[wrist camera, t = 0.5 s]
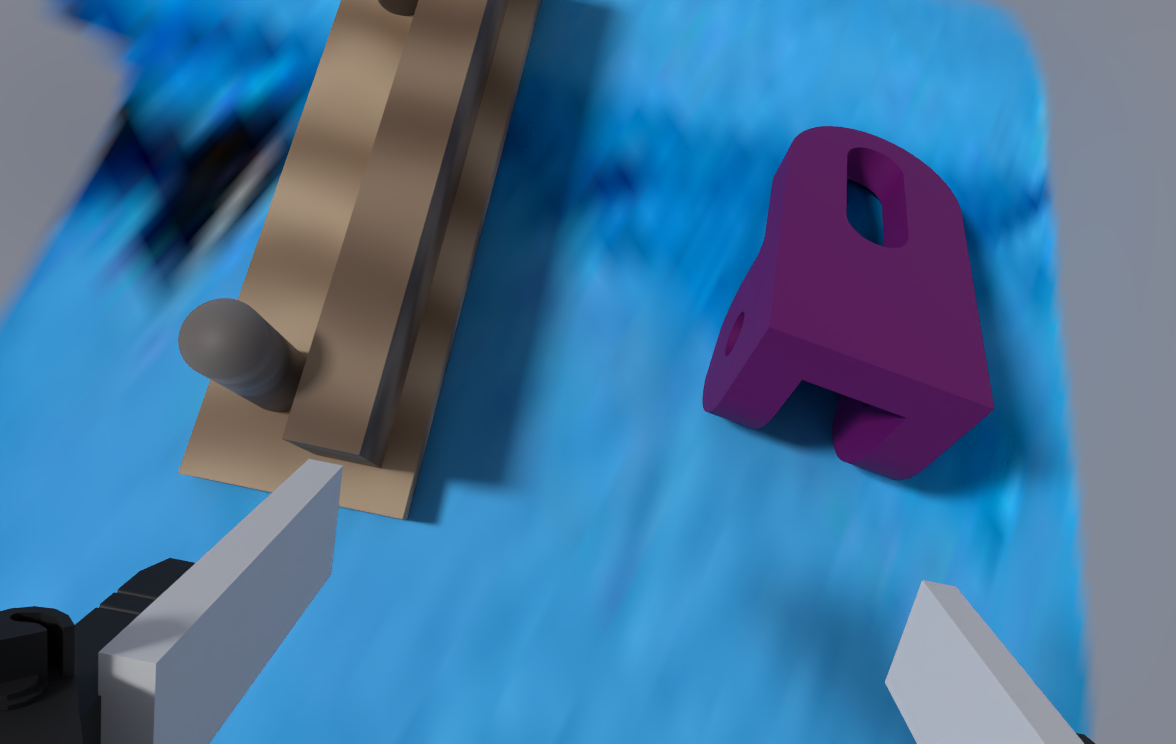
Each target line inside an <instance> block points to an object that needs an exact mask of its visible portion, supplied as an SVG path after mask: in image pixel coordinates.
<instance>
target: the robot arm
mask: <svg viewBox="0 0 1176 744" xmlns="http://www.w3.org/2000/svg"><path fill="white" fill-rule="evenodd" d="M342 471H343V465H338V464H333V463H328V462H323V461H317V460H312V459H308V460H307V461H306V462H305V463H304V464H303V465H302V466H301V467H299V468H298V469H297V470H296V471H295V472H294V473H293V474H292V475H291V476H290V477H289V478H288V479H286V480H285V481H284V482H283V483H282V484H281V485H280V486H279V487H278V488H277V489H276V490H274V491H273V492H272V493H271V494H270V495H269V496H268V497H267V498H266V499H265V500H264V501H263V502H261V503H260V504H259V505H258V506H257V507H256V508H255V509H254V510H253V511H252V512H251V513H249V514H248V515H247V516H246V517H245V518H244V519H243V520H242V521H241V522H240V523H239V524H238V525H236V526H235V527H234V528H233V529H232V530H231V531H230V532H229V533H228V534H227V535H226V536H224V537H223V538H222V539H221V540H220V541H219V542H218V543H217V544H216V545H215V546H214V547H213V548H211V549H210V550H209V551H208V552H207V553H206V554H205V555H204V556H203V557H202V558H201V559H199V560H198V561H197V562H196V563H193V562H188V561H183V560H178V559H172V558H169V559H166V560H164V561H162V562H160V563H157V564H155V565H153V566H151V567H148V568H146V569H144V570H141V571H139V572H138V573H137V574H136V575H135V576H133V577H132V578H131V579H130V580H129V581H127V582H126V583H125V584H124V585H123V586H121V587H120V588H119V589H118V592H117V593H113V594H112V595H111V596H109V597H108V598H107V599H106V600H105V601H103V602H102V603H101V604H100V607H99V608H95V609H94V610H92V611H91V612H90V613H89V614H88V615H86V616H85V617H84V618H83V619H82V620H80V621H79V622H78V623H77V624H76V625H74V623H73V622H72V620H71V618H70V617H69V615H67V614H65V613H63V612H61V611H58V610H56V609H53V608H44V607H36V606H33V607H22V608H11V609H7V610H4V611H0V744H209V743H210V742H211V740H212V739H213V738H214V736H215V735H216V733H217V732H218V731H219V729H220V728H221V727H222V725H223V724H224V722H225V721H226V720H227V718H228V717H229V715H230V714H231V713H232V711H233V710H234V708H235V707H236V706H237V704H238V703H239V701H240V700H241V699H242V697H243V696H244V695H245V693H246V692H247V690H248V689H249V688H250V686H251V685H252V683H253V682H254V681H255V679H256V678H257V676H258V675H259V674H260V672H261V671H262V669H263V668H264V667H265V665H266V664H267V662H268V661H269V660H270V658H271V657H272V656H273V654H274V653H275V651H276V650H277V649H278V647H279V646H280V644H281V643H282V642H283V640H284V639H285V637H286V636H287V635H288V633H289V632H290V630H291V629H292V628H293V626H294V625H295V624H296V622H297V621H298V619H299V618H300V617H301V615H302V614H303V612H304V611H305V610H306V608H307V607H308V605H309V604H310V603H311V601H312V600H313V598H314V597H315V596H316V594H317V593H318V592H319V590H320V589H321V587H322V586H323V585H324V583H325V582H326V580H327V579H328V578H329V576H330V575H331V571H332V562H333V553H334V543H335V534H336V525H337V516H338V507H339V498H340V489H341V480H342ZM885 684H886V685H887V687H888V689H889V691H890V693H891V695H892V697H893V699H894V701H895V703H896V705H897V706H898V708H899V710H900V712H901V714H902V716H903V718H904V720H905V722H906V724H907V725H908V727H909V729H910V731H911V733H912V735H913V737H914V739H915V741H916V743H917V744H1095V743H1094V742H1093V741H1091V740H1090V739H1089V738H1088V737H1086V736H1085V735H1083V734H1078V733H1075V732H1074V730H1073V729H1072V728H1071V727H1070V726H1069V724H1068V723H1067V722H1066V721H1065V719H1064V718H1063V717H1062V716H1061V715H1060V713H1059V712H1058V711H1057V710H1056V708H1055V707H1054V706H1053V705H1052V704H1051V702H1050V701H1049V700H1048V699H1047V697H1046V696H1045V695H1044V694H1043V693H1042V691H1041V690H1040V689H1039V688H1038V686H1037V685H1036V684H1035V683H1034V682H1033V680H1032V679H1031V678H1030V677H1029V675H1028V674H1027V673H1026V672H1025V671H1024V669H1023V668H1022V667H1021V666H1020V664H1019V663H1018V662H1017V661H1016V660H1015V658H1014V657H1013V656H1012V655H1011V653H1010V652H1009V651H1008V650H1007V649H1006V647H1005V646H1004V645H1003V644H1002V642H1001V641H1000V640H999V639H998V638H997V636H996V635H995V634H994V633H993V631H992V630H991V629H990V628H989V627H988V625H987V624H986V623H985V622H984V620H983V619H982V618H981V617H980V616H979V614H978V613H977V612H976V611H975V609H974V608H973V607H972V606H971V605H970V603H969V602H968V601H967V600H966V598H965V597H964V596H963V595H962V594H961V592H960V591H959V590H958V589H957V588H956V587H955V586H950V585H945V584H940V583H935V582H929V581H924V580H922V583H921V585H920V588H919V591H918V593H917V596H916V599H915V602H914V604H913V607H912V610H911V613H910V615H909V618H908V621H907V623H906V626H905V629H904V632H903V634H902V637H901V640H900V642H899V645H898V648H897V651H896V653H895V656H894V659H893V661H892V664H891V667H890V670H889V672H888V675H887V678H886V681H885Z"/></svg>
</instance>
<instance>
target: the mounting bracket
mask: <svg viewBox="0 0 1176 744" xmlns="http://www.w3.org/2000/svg"><path fill="white" fill-rule="evenodd" d="M847 179H848V180H852V181H855V182H857V183H860V184H862V185H863V186H865V187H867V188H868V189H870V190H871V191H872V192H873V193H874V194H875V195H876V196H877V197H878V198H879V200H880V202H881V204H882V215H883V239H884V247H883V246H880V245H877V244H875V243H873V242H871V241H869V240H867V239H865V238H864V237H863V236H861V235H860V234H859V233H858V232H856V231H855V230H854V228H853V227H852V226H851V225H850V223H849V221H848V219H847V216H846V201H847ZM802 380H804V381H807V382H809V383H812V384H815V385H818V386H820V387H823V388H826V389H829V390H831V391H834V392H837V393H840V396H839V400H838V404H837V408H836V412H835V416H834V420H833V425H832V439H833V445H834V449H835V452H836V454H837V456H838V457H839V458H840V459H841V460H842V461H844V462H847V463H849V464H852V465H855V466H858V467H860V468H863V469H866V470H869V471H871V472H874V473H877V474H880V475H883V476H885V477H888V478H891V479H894V480H904V479H907V478H910V477H912V476H914V475H916V474H918V473H919V472H921V471H922V470H923V469H924V468H926V467H927V466H928V465H929V464H930V463H932V462H933V461H934V460H935V459H936V458H937V457H939V456H940V455H941V454H942V453H943V452H944V451H946V450H947V449H948V448H949V447H950V446H951V445H953V444H954V443H955V442H956V441H957V440H959V439H960V438H961V437H962V436H963V435H964V434H966V433H967V432H968V431H969V430H970V429H971V428H973V427H974V426H975V425H976V424H977V423H978V422H980V421H981V420H982V419H983V418H984V417H986V416H987V415H988V414H989V413H990V412H991V411H993V410H994V404H993V398H992V392H991V386H990V380H989V374H988V368H987V362H986V356H985V350H984V344H983V338H982V332H981V326H980V320H979V314H978V308H977V302H976V297H975V291H974V285H973V279H972V273H971V267H970V261H969V255H968V249H967V243H966V237H965V231H964V225H963V219H962V213H961V209H960V206H959V203H958V201H957V199H956V197H955V196H954V194H953V193H952V191H951V189H950V188H949V187H948V186H947V184H946V183H945V182H944V181H943V180H942V179H941V178H940V177H939V176H938V175H937V174H936V173H935V172H934V171H933V170H932V169H931V168H930V167H928V166H927V165H926V164H925V163H923V162H922V161H921V160H919V159H918V158H916V157H915V156H914V155H912V154H910V153H909V152H907V151H906V150H904V149H902V148H900V147H898V146H897V145H895V144H893V143H891V142H889V141H886V140H884V139H882V138H879V137H877V136H874V135H871V134H868V133H865V132H862V131H858V130H854V129H849V128H844V127H834V126H822V127H815V128H811V129H808V130H805V131H803V132H802V133H800V134H799V135H798V136H797V137H796V138H795V139H794V140H793V142H792V144H791V146H790V148H789V149H788V151H787V153H786V155H785V157H784V159H783V161H782V163H781V164H780V166H779V168H778V170H777V172H776V174H775V176H774V178H773V183H772V190H771V197H770V204H769V211H768V218H767V225H766V232H765V238H764V242H763V245H762V247H761V250H760V252H759V254H758V256H757V258H756V260H755V261H754V263H753V265H752V267H751V268H750V270H749V272H748V274H747V275H746V277H745V279H744V281H743V282H742V284H741V286H740V288H739V290H738V292H737V294H736V296H735V298H734V300H733V302H732V304H731V306H730V308H729V311H728V313H727V315H726V318H725V320H724V323H723V325H722V328H721V330H720V333H719V336H718V340H717V343H716V346H715V349H714V353H713V356H712V359H711V362H710V366H709V369H708V372H707V375H706V379H705V384H704V390H703V408H704V410H705V411H706V412H708V413H711V414H714V415H717V416H719V417H722V418H725V419H728V420H730V421H733V422H736V423H739V424H742V425H744V426H747V427H750V428H753V429H759V428H762V427H763V426H765V425H766V424H767V423H768V422H769V421H770V420H771V419H772V418H773V417H774V415H775V414H776V413H777V412H778V410H779V409H780V408H781V406H782V405H783V404H784V403H785V401H786V400H787V399H788V397H789V396H790V395H791V393H792V392H793V391H794V390H795V388H796V387H797V386H798V384H799V383H800V382H801V381H802Z"/></svg>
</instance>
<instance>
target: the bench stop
mask: <svg viewBox="0 0 1176 744" xmlns="http://www.w3.org/2000/svg"><path fill="white" fill-rule="evenodd" d="M540 4H541V0H341V2H340V5H339V8H338V11H337V14H336V17H335V20H334V23H333V26H332V28H331V31H330V34H329V37H328V40H327V43H326V46H325V49H324V52H323V55H322V57H321V60H320V63H319V66H318V69H317V72H316V75H315V78H314V81H313V84H312V86H311V89H310V92H309V95H308V98H307V101H306V104H305V107H304V110H303V113H302V115H301V118H300V121H299V124H298V127H297V130H296V133H295V136H294V139H293V142H292V144H291V147H290V150H289V153H288V156H287V159H286V162H285V165H284V168H283V171H282V173H281V176H280V179H279V182H278V185H277V188H276V191H275V194H274V197H273V199H272V202H271V205H270V208H269V211H268V214H267V217H266V220H265V223H264V226H263V228H262V231H261V234H260V237H259V240H258V243H257V246H256V249H255V252H254V255H253V257H252V260H251V263H250V266H249V269H248V272H247V275H246V278H245V281H244V284H243V286H242V289H241V292H240V295H239V298H238V300H235V299H227V298H223V299H215V300H211V301H208V302H206V303H204V304H202V305H200V306H198V307H197V308H195V309H194V310H193V311H192V312H191V313H190V314H189V315H188V316H187V318H186V319H185V321H184V322H183V324H182V326H181V329H180V332H179V338H178V344H179V349H180V353H181V355H182V357H183V359H184V360H185V362H186V363H187V364H188V365H189V366H190V367H191V368H192V369H193V370H195V371H197V372H198V373H200V374H202V375H204V376H206V377H207V378H209V379H210V382H209V385H208V388H207V391H206V394H205V397H204V399H203V402H202V405H201V408H200V411H199V414H198V417H197V420H196V423H195V426H194V428H193V431H192V434H191V437H190V440H189V443H188V446H187V449H186V452H185V455H184V457H183V460H182V463H181V466H180V469H179V472H178V473H180V474H185V475H189V476H194V477H199V478H204V479H208V480H213V481H218V482H223V483H228V484H233V485H238V486H242V487H247V488H252V489H257V490H262V491H267V492H273V491H274V490H276V489H277V488H278V487H279V486H280V485H281V484H282V483H283V482H284V481H285V480H286V479H288V478H289V477H290V476H291V475H292V474H293V473H294V472H295V471H296V470H297V469H298V468H299V467H301V466H302V465H303V464H304V463H305V462H306V461H307V460H308V459H312V460H317V461H323V462H328V463H333V464H338V465H343V471H342V480H341V489H340V498H339V506H340V507H344V508H349V509H354V510H359V511H364V512H369V513H374V514H378V515H383V516H388V517H393V518H398V519H403V520H407V518H408V514H409V510H410V506H411V503H412V499H413V495H414V491H415V487H416V483H417V479H418V476H419V472H420V468H421V464H422V460H423V456H424V452H425V448H426V445H427V441H428V437H429V433H430V429H431V425H432V421H433V418H434V414H435V410H436V406H437V402H438V398H439V394H440V390H441V387H442V383H443V379H444V375H445V371H446V367H447V363H448V360H449V356H450V352H451V348H452V344H453V340H454V336H455V332H456V329H457V325H458V321H459V317H460V313H461V309H462V305H463V302H464V298H465V294H466V290H467V286H468V282H469V278H470V274H471V271H472V267H473V263H474V259H475V255H476V251H477V247H478V244H479V240H480V236H481V232H482V228H483V224H484V220H485V216H486V213H487V209H488V205H489V201H490V197H491V193H492V189H493V186H494V182H495V178H496V174H497V170H498V166H499V162H500V158H501V155H502V151H503V147H504V143H505V139H506V135H507V131H508V127H509V124H510V120H511V116H512V112H513V108H514V104H515V100H516V97H517V93H518V89H519V85H520V81H521V77H522V73H523V69H524V66H525V62H526V58H527V54H528V50H529V46H530V42H531V39H532V35H533V31H534V27H535V23H536V19H537V15H538V11H539V8H540Z"/></svg>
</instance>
